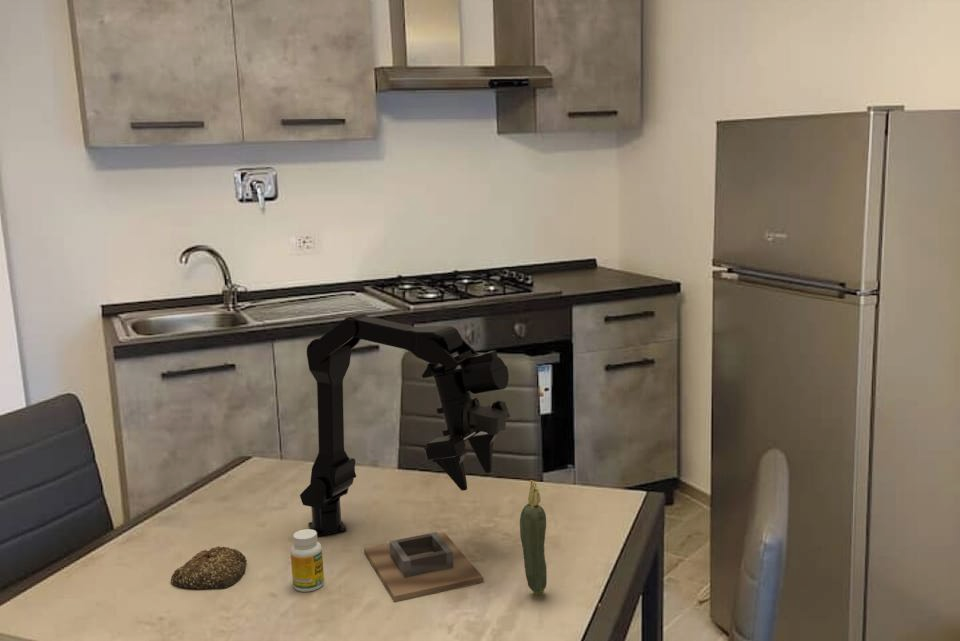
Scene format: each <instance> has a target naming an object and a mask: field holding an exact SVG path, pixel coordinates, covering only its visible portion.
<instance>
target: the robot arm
mask: <svg viewBox="0 0 960 641" xmlns="http://www.w3.org/2000/svg"><path fill="white" fill-rule="evenodd" d="M362 340H363V341H368V342H372V343H375V344H380V345H385V346H389V347H393V348H397V349H402V350H406V351H407V352H410V353H411V354H413V355H414V357H416V358H417V359H420V360H422V361H424V362H426V363H427V366H426V368H425V370H424V371H423V373H422V375H421V377H422V378H423V379H427V378H433V382H434V384H435V388H436V393H437V397H438V400H439V404H440V406H438V407H437V408H436V413H437V414H438V415H440V414H442V417H443V419H444V424H445V427H446V428H445V429H443V430H442V436H440V437H435V438H434V439H432V440H430V441H428V442H427V443H426V445H425V447H424V453H425V457H426V460H427V461H429V460H431V462H432V463H436V464H437V465H438V466H439V467H440V468H441V469H442V470H443V471H444V472H445V473H446V474H447V476H449V478H450V479H451V480H452V481H453V483H455V485H456V486H457V487H458V488H459V490H460V491H467V490H468V483H467V475H466V470H465V469H466V468H465V464H464V460H465V457H466V456H467V454H468V450H467V451H466V450H465V449H466V441H469V444H470V446H471V448H472V450H473V452H474V454H475V456H476V458H477V460H478V462H479V464H480V466H481V467H482V469H483V472H485V474H490V473H492V469H493V452H494V451H493V449H494V442H495V440H496V438H497V436H498V435H499V434H500V433H501V431H505V430H506V429H507V428H506V427H507V420H508V419H510V417H511V415H510V413H509V410H508V407H507V405H506V402H505V401H504V400H501V399H498V400H496V401H494V402H493V403H492V405H487V406H485V405H484V406H483V405H481V403H480V400H479V399H478V398H477V396H476V397H475V396H474V397H473V396H472V394H473V395H475V394H476V395H478V394H483V393H489V392H495V391H501V390H504V389H506V388H507V386H508V383H509V376H510V375H509V369H508V366H507V365H506V364H505V362H504V361H503V359H502V358H501V357H499V356H498V353H497V350H490V351H488V352H486V353H482V354H479V353H478V352H477V350H475V349H474V348H473V347H472V346H471V345H470V344H469V343H468V342H466V340H465V339H464V338H462V335H461V334H460V332H459V330H458V329H457V328H455V327H453V326H450V325H428V326H413V325H409V324H405V323H401V322H395V321H391V320H385V319H381V318H377V317H373V316H368V315H366V314H363V313H357V314H354V315H351V316H348V317H345V318H344V319H343V320H342V321H341V322H340V323H339V324H337V325H336V326H335V327H334V328H332V329H330V330H329V331H328V332H327V333H325V334H323V335H322V336H321V337H317V338H315V339H313V340H312V341H310V342H309V343H308V344H307V345H306V346H307V347H306V359H307V364H308V365H307V366H308V369H309V372H310V373H311V375H312V376H313V378H314V379H315V382H316V392H317V396H316V397H317V399H316V400H317V401H316V402H317V432H318V434H317V436H318V437H317V438H318V454H317V455H316V458H315V459H314V462H313V465H312V467H311V471H310V472H311V474H310V481H309V482H310V483H309V485H308V486H306V488H304V490H303V491H302V492H301V493H300V495H299V498H300V500H301V504H302V505H303V506H306V507H311V522H308V524H307V526H308V528H309V529H311V530H315V531H316V532H317V538H318V537H321V536H328V535H332V534H333V535H334V534H338V533H345V532H346V531H347V527H346V525H345V524H344V522H343V520H342V509H341V497H343V496H345V495H347V494H348V492H349V488H350V487H351V486H352V485H353V484H354V479H356V478H357V474H356V459H355V458H352V457H349V456H348V454H347V452H346V451H345V435H344V434H345V433H344V432H345V431H344V430H345V427H344V425H345V424H344V379H345V376H346V374H347V372H348V369H349V367H350V365H351V358H352V356H351V355H352V350H353V349H354V348H355V347H356V346H357V345H358V344H360V342H361V341H362Z"/></svg>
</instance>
